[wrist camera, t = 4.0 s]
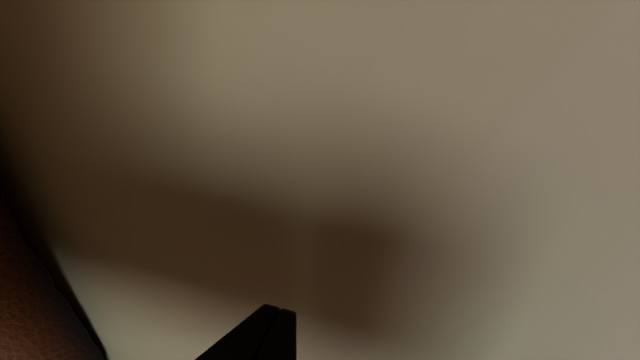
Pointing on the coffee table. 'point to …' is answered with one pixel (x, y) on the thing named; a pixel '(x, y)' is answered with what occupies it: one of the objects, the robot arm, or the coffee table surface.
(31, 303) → the sunglasses case
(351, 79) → the coffee table surface
